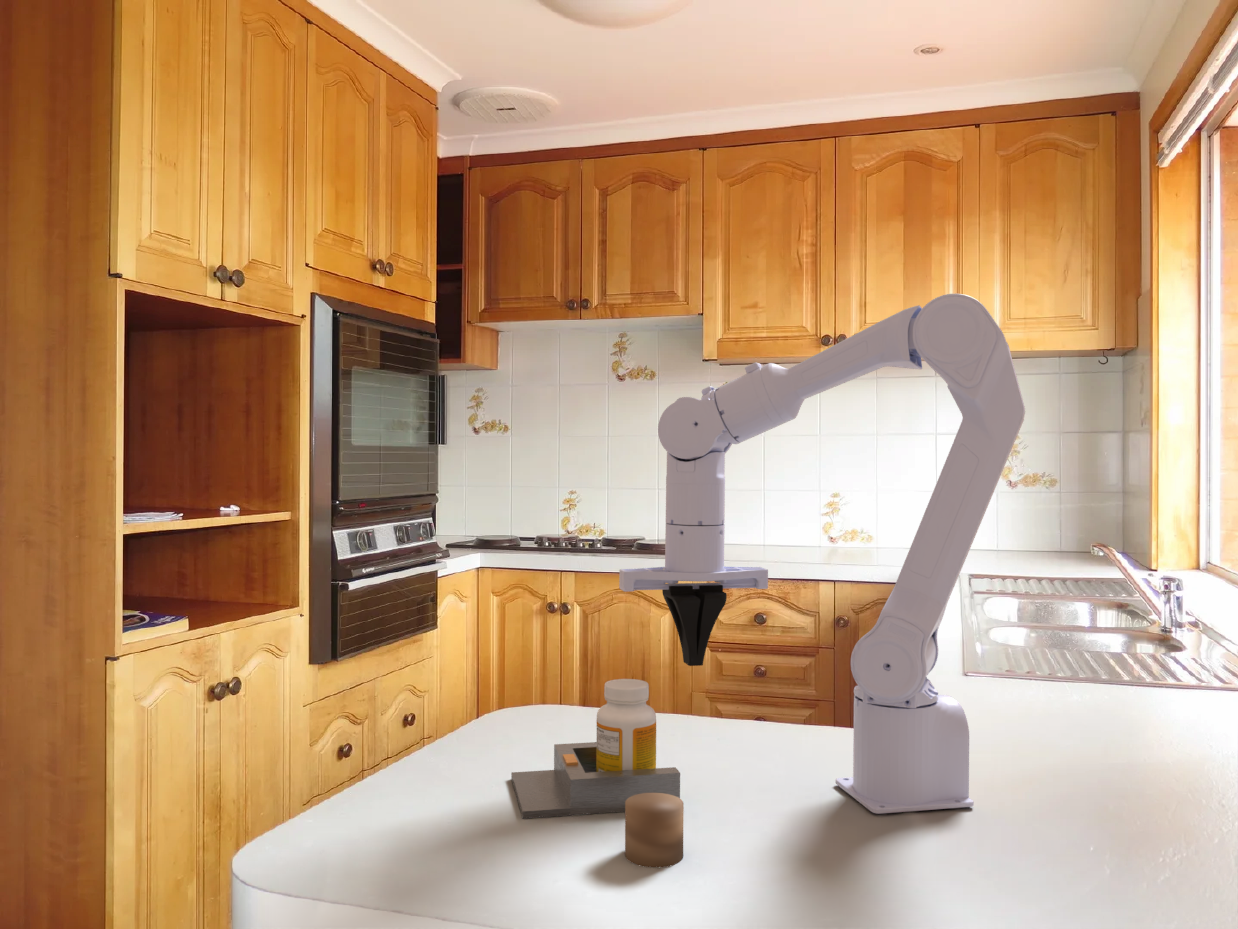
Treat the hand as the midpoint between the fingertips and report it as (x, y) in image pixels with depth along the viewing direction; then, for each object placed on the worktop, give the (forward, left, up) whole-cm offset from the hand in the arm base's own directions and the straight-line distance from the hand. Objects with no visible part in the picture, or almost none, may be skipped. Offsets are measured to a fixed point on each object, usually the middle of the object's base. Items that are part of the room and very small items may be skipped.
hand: (693, 663), depth 93 cm
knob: (+9, +19, -10) cm, 24 cm away
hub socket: (+11, +5, -10) cm, 16 cm away
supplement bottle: (+8, +5, -10) cm, 14 cm away
